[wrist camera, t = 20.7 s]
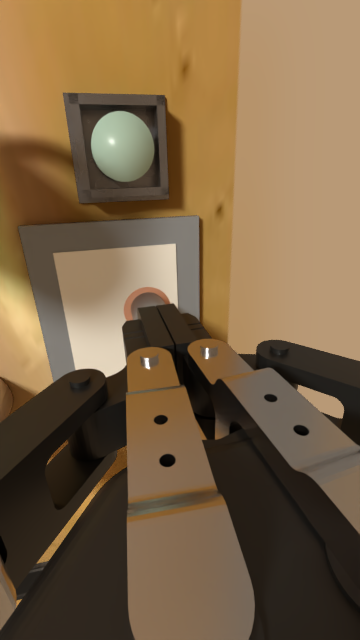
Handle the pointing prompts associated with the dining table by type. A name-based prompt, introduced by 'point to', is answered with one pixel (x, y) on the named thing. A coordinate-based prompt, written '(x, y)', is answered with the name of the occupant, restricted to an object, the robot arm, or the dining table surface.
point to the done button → (122, 146)
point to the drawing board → (106, 282)
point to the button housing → (81, 123)
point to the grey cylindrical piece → (145, 302)
